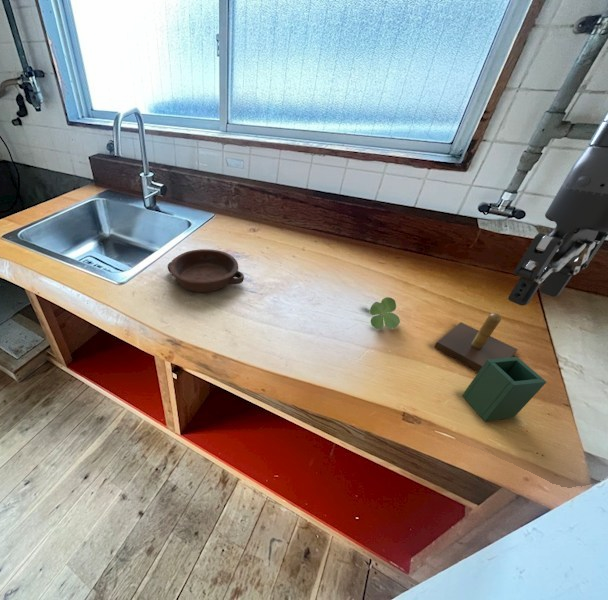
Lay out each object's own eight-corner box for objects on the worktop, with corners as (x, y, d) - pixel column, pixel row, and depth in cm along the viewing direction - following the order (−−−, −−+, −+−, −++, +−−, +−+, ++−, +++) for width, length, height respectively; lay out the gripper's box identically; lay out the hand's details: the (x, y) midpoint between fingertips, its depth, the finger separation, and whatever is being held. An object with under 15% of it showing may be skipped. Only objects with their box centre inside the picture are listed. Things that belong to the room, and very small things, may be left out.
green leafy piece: (370, 333, 75) (389, 338, 69) (345, 313, 74) (363, 317, 68) (387, 308, 76) (408, 311, 69) (363, 288, 74) (382, 289, 68)
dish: (233, 305, 78) (234, 289, 75) (153, 290, 84) (150, 274, 81) (251, 269, 91) (252, 254, 88) (180, 258, 97) (179, 243, 94)
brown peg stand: (514, 354, 62) (542, 317, 57) (491, 378, 58) (519, 341, 52) (457, 327, 69) (478, 291, 63) (433, 347, 65) (453, 310, 59)
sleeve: (489, 392, 56) (517, 356, 50) (513, 418, 52) (547, 381, 46) (461, 395, 55) (486, 359, 50) (484, 421, 51) (514, 385, 46)
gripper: (619, 196, 35) (536, 319, 43) (671, 191, 40) (588, 302, 48) (537, 183, 41) (477, 294, 49) (591, 180, 46) (529, 281, 54)
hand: (532, 298), depth 49 cm, fingers open, 8 cm apart
